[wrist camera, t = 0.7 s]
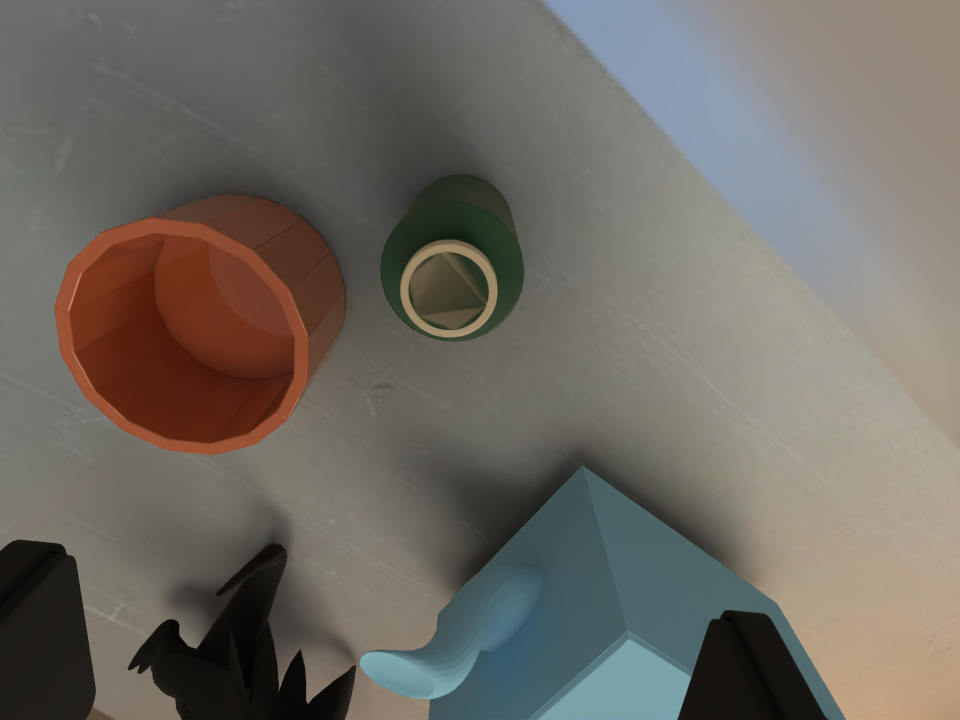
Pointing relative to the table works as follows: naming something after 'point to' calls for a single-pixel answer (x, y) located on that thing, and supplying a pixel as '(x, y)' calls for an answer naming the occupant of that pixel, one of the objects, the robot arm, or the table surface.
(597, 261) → the table surface
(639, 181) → the table surface
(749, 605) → the teapot
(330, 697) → the figurine
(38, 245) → the table surface
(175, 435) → the cup
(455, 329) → the bottle
